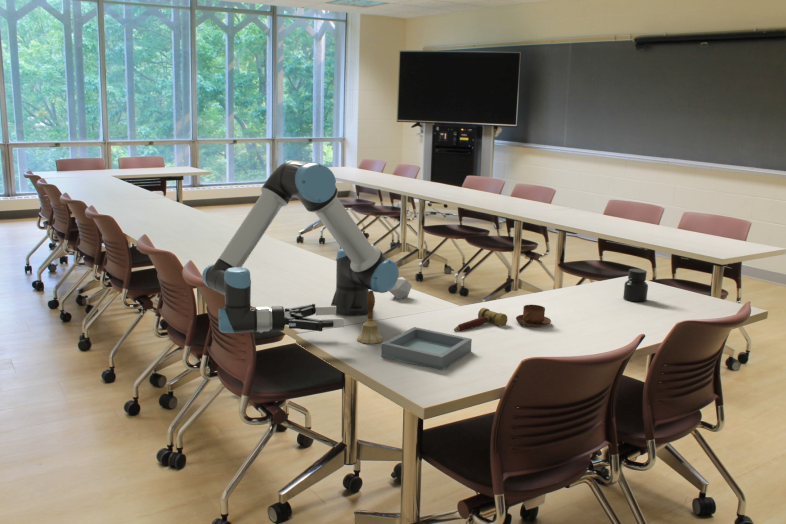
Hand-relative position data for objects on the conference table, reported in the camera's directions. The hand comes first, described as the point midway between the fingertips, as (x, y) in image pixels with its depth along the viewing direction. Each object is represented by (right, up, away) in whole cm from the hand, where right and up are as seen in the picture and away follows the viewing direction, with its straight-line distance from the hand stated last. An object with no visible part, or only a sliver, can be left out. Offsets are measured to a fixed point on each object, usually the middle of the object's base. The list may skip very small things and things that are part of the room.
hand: (339, 316), depth 220 cm
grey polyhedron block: (+19, +3, +55) cm, 59 cm away
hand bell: (+9, -8, +4) cm, 13 cm away
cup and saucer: (+65, -5, +27) cm, 71 cm away
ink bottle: (+114, +2, +64) cm, 130 cm away
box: (+27, -11, -7) cm, 30 cm away
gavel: (+45, -6, +22) cm, 50 cm away
